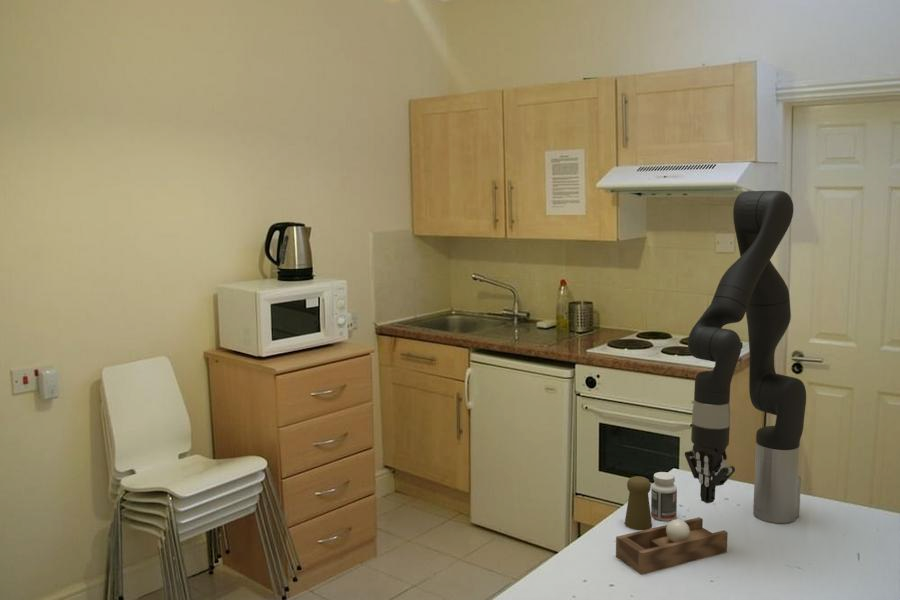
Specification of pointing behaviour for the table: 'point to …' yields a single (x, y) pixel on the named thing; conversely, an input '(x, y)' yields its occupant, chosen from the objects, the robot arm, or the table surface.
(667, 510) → the pill bottle
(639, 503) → the pepper mill
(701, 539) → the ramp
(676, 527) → the ball
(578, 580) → the table surface
